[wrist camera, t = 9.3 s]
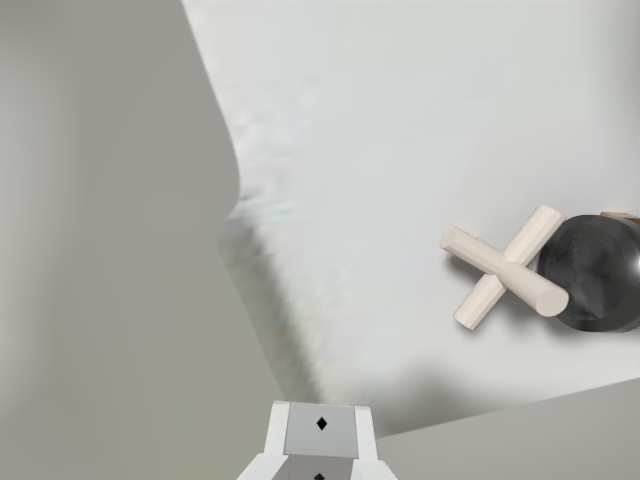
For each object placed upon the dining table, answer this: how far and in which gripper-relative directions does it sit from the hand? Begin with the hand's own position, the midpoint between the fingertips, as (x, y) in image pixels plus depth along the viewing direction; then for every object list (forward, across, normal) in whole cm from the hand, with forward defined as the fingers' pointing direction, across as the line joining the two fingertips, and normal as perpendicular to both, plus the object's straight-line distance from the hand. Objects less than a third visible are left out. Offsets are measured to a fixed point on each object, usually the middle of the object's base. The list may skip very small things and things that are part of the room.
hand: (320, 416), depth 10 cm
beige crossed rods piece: (+19, -13, +1) cm, 23 cm away
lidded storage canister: (+18, -24, +1) cm, 30 cm away
